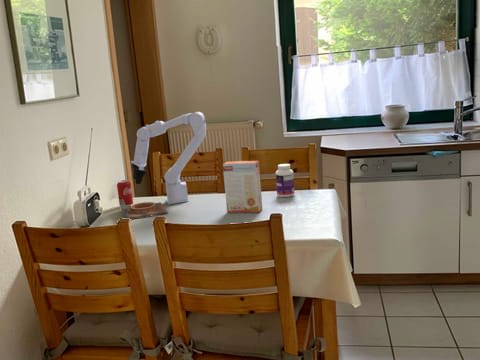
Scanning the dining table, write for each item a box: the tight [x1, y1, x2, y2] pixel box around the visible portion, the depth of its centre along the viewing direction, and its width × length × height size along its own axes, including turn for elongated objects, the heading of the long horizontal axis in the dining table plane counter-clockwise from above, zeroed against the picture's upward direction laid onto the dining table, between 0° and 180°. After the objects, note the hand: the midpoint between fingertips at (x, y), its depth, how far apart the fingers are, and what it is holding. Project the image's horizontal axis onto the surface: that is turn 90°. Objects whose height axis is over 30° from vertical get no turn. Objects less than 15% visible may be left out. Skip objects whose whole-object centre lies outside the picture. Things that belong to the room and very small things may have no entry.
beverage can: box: [116, 179, 134, 207], centre depth 235 cm, size 6×6×12 cm
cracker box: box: [222, 160, 263, 214], centre depth 209 cm, size 14×6×21 cm, turn 71°
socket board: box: [120, 199, 169, 220], centre depth 222 cm, size 18×18×5 cm
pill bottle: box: [275, 163, 295, 198], centre depth 228 cm, size 8×8×14 cm
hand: (137, 181), depth 235 cm, fingers open, 7 cm apart
